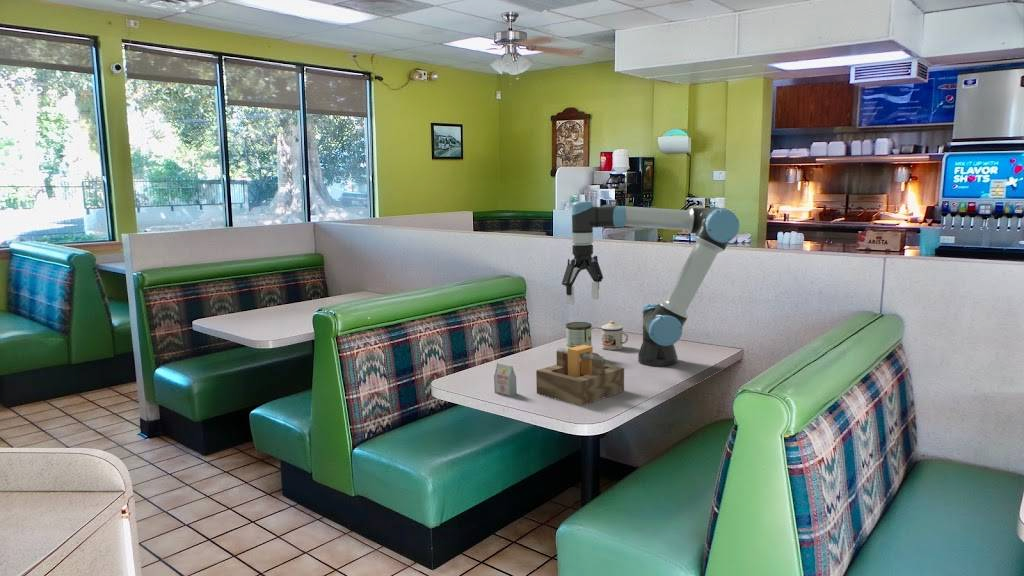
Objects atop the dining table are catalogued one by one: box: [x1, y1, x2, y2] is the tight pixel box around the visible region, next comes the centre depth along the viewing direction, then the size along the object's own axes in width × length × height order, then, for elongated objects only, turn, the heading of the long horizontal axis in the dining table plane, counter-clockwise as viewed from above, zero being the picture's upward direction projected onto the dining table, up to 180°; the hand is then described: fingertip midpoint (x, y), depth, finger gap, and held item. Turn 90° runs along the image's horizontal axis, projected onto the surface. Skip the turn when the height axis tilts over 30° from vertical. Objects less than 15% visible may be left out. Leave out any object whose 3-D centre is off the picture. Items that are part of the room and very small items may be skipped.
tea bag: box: [493, 362, 518, 397], centre depth 239 cm, size 4×7×10 cm, turn 49°
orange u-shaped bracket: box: [568, 345, 594, 378], centre depth 237 cm, size 8×4×10 cm, turn 133°
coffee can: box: [565, 321, 592, 349], centre depth 282 cm, size 10×10×14 cm
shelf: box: [535, 347, 625, 407], centre depth 238 cm, size 22×20×14 cm
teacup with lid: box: [601, 320, 629, 351], centre depth 297 cm, size 12×9×12 cm
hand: (583, 301), depth 260 cm, fingers open, 13 cm apart
